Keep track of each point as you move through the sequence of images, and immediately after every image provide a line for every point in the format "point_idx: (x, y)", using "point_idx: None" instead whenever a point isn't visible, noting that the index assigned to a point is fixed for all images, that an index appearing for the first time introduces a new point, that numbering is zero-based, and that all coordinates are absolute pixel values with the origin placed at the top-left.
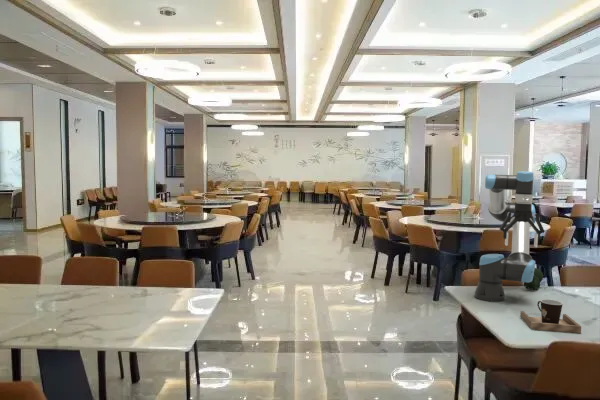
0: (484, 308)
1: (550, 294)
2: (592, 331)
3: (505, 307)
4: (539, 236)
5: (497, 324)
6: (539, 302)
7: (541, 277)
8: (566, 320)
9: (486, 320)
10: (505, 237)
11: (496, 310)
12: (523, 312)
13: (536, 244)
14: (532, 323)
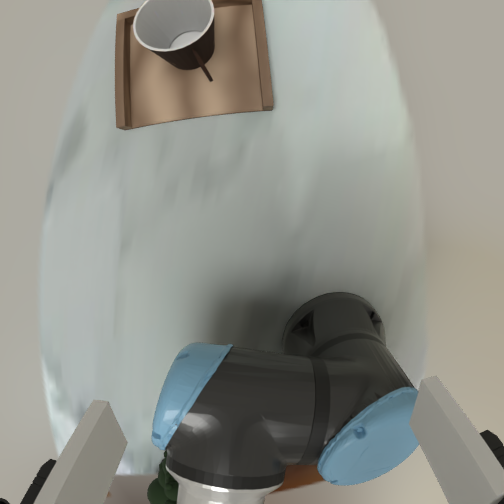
0: (379, 191)
1: (135, 422)
2: (86, 57)
3: (302, 230)
4: (32, 491)
5: (354, 23)
6: (205, 71)
7: (151, 485)
8: (128, 95)
9: (384, 53)
10: (483, 444)
11: (342, 176)
12: (266, 88)
13: (90, 420)
14: None
